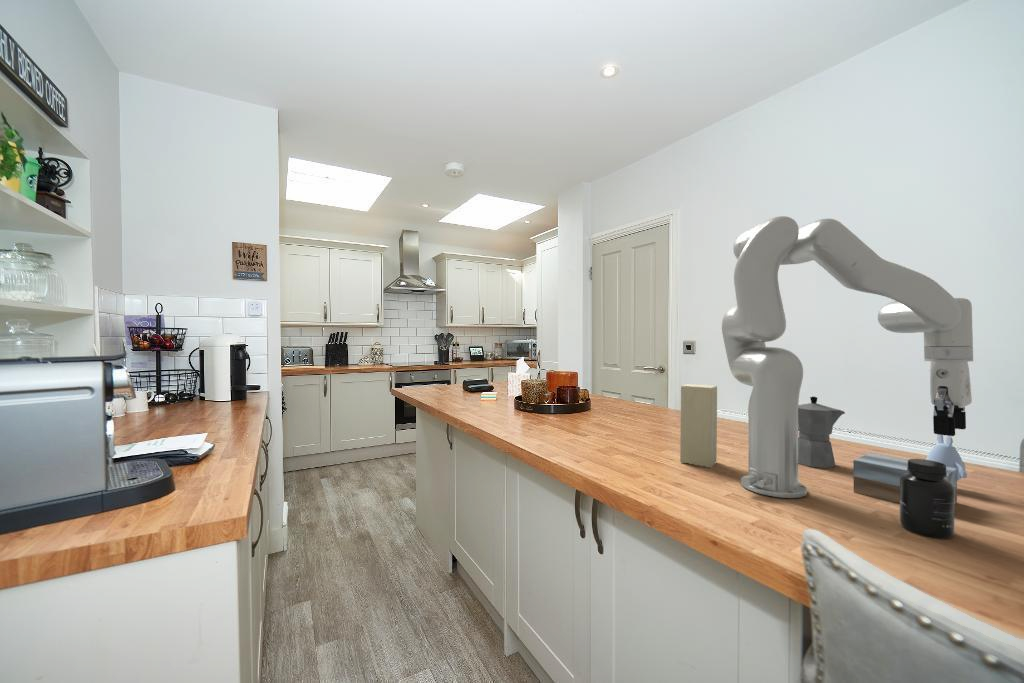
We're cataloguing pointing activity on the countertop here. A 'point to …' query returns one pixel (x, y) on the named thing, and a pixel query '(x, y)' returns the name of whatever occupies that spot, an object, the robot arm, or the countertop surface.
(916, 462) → the supplement bottle
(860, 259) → the robot arm
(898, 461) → the silver block
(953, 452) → the toy figure
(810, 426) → the coffeepot
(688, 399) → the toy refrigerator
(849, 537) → the countertop surface
